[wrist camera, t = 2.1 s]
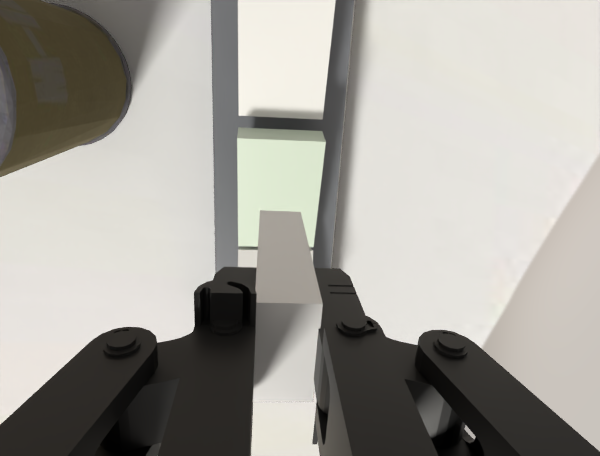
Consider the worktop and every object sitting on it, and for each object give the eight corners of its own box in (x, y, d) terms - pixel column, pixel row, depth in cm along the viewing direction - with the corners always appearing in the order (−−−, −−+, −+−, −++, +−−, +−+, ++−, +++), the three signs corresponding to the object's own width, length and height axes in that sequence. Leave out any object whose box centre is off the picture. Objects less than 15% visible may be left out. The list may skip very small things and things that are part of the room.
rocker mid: (239, 231, 34) (238, 246, 33) (238, 127, 29) (237, 138, 28) (310, 232, 35) (313, 247, 33) (322, 130, 30) (325, 141, 28)
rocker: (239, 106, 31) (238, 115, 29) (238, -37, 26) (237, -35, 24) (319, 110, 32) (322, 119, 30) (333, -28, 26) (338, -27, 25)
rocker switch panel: (220, 335, 42) (215, 364, 38) (214, -61, 30) (207, -83, 26) (320, 334, 43) (327, 362, 39) (352, -48, 31) (367, -67, 27)
